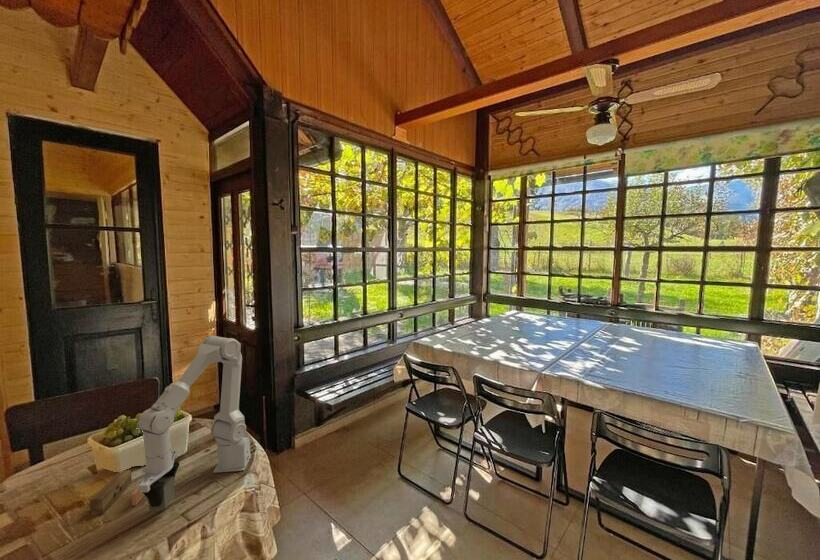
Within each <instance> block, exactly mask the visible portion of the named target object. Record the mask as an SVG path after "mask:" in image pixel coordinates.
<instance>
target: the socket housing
mask: <svg viewBox="0 0 820 560" xmlns="http://www.w3.org/2000/svg"><path fill="white" fill-rule="evenodd" d="M122 471H123V472H121V473H118V472H117V473H116V474H115V475H114V476H113V477H112V478H111V479H109V481H108V482H107V483H105V484H104V486H103V487H101V488H100V489H99V490H98V491H97V492H96V493H95V494H94V495H93V496H92V497H90V499H89V506H90V507H89V508H90V514H91V516H93V515H104V514H105V513H106V512H107V511H108V510H109V509H110V508H111V506H112V505H114V503H115V502H116V501H117V500H118V499H119V498H120V497H122V495H123V494H124V493H125V492H126V491H127V490H128V488H130V486H132V485H133V478H132V470H131V469H126V471H124V470H122Z"/></svg>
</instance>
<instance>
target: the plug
mask: <svg viewBox="0 0 820 560" xmlns="http://www.w3.org/2000/svg"><path fill="white" fill-rule="evenodd" d="M157 481H159V482H165V484H164V487H163V491H162V502H161V505H160V506H158V507H151V505H150V503H149V501H148V500H145V501H144V502H143V503H144V505H148V510H149V511H159V510H166V509H167V508H168V506H169V505H170V503H171V502H172V501H173V499H174V498H175V497H176V491H175V490H176V488H175V478H174V476H169V477H160V478H159V479H158V480H157Z"/></svg>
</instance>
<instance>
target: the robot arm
mask: <svg viewBox="0 0 820 560" xmlns="http://www.w3.org/2000/svg"><path fill="white" fill-rule="evenodd" d="M241 348H242V343H241V342H239V341H238V340H237V339H236V338H233V337H229V338H228V337H223V336H217V335H214V334H213V335H209V336H207V337H205V338H204V340H203V341H202V343H201V344H199V345H198V349H197V354H196V355H195V357H194V358H193V359H192V361H191V362H190V363H189V365H188V366H187V368H186V369H185V371H184V372H183V374H182V375H181V377H180V378H179V379H178V380H177V381H174V382H172V383H169V385H167V386H166V387H165V388H164V390H163V393H162V394H161V395H160V396H159V398H158V399H157V400H156V401H155V402H154V403H153V405H151V407H150V408H147V409H146V410H144V411H143V412H142V413H141V414H140V416H139V418H138V422H136V428H137V429H141V430H142V432H143V439H144V450H145V460H146V466H143V468H142V470H141V472H142V474H144V475H143V477H142V481H141V482H140V484H139V485H138V486H139V492H140V493H143V494H144V495H145V496H144V497H146V499H147V501H149V503H150V505H151V507H158V506H160V505H161V502H162V491H163V487H164V484H165V482H159V481H157V480H158V479H159V478H160V477H169V476H174V479H175V478H176V474H177V471H178V468H179V466H180V462H179V461H175V460H176V459H177V458H178V457H179V456H178V451H177V450H175V451H174V450H172V446H171V445H172V444H171V432H170V428H171V427H172V426H173V425H174V422H175V417H176V415H177V411H178V410H179V408H180V407H181V406H182V404H183V403H184V402H185V401H186V399H187V398H188V396H189V395H190V394H191V391H190V387H191V386H192V385H193V384H194V383H195V381H197V379H198V378H199V377H200V376H201V374H202V373H203V372H204V371H205V370H206V369H207V368H208V366H209V365H211V364H216V363H222V376H221V377H222V380H221V393H220V405H219V411H218V412H217V413H216V414H214V417H213V422H212V425H211V426H210V433H211V435H212V437H215V441H216V449H217V452H216V453H217V465H216V466H215V468H214V469H213V474H215V473H228V472H229V473H230V472H239V471H240V472H242V470H243V471H244V470H245V469H246V467H247V465H248V463H249V461H250V460H249V459H251V458H252V455H251V442H250V441H251V440H250V437H247V436H246V437H245V434H246V431H247V425H246V423H245V422H246V421H245V420H246V419H245V415H244V414H243V413H242V412H241V411H240V396H241V395H240V394H241V383H242V382H241V381H242V367H243V365H242V364H243V355H242V352H241Z"/></svg>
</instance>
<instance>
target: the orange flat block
mask: <svg viewBox="0 0 820 560" xmlns="http://www.w3.org/2000/svg"><path fill="white" fill-rule="evenodd" d="M130 495H131V506H137V505H138V504H139V502H140V501H142V500H143V498H144V497H146V496H145V495H144V494H143V493H140V492H139V485H138V486H137V487H136V488H135V489H134V491H132V492H131V494H130Z"/></svg>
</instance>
